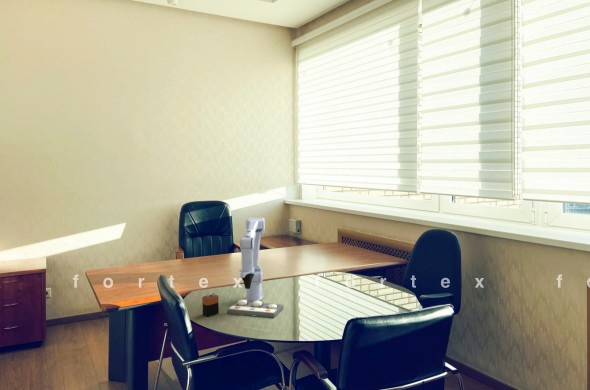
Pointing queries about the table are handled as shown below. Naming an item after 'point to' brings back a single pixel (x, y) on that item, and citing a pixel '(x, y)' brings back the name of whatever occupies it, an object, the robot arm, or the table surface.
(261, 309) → the button board
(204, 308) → the battery
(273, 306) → the button
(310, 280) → the table surface
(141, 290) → the table surface
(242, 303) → the button
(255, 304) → the button
